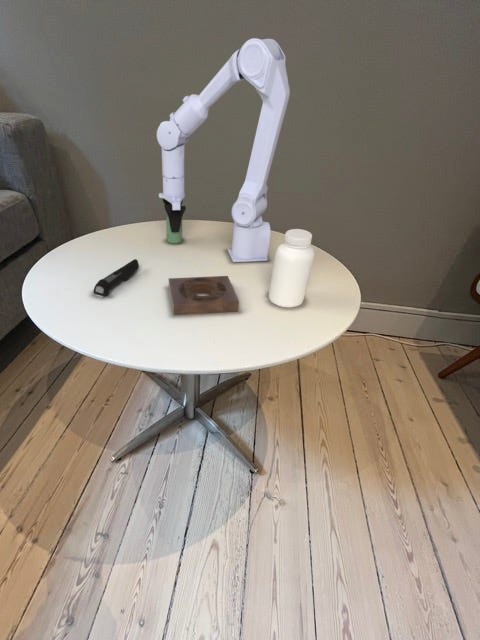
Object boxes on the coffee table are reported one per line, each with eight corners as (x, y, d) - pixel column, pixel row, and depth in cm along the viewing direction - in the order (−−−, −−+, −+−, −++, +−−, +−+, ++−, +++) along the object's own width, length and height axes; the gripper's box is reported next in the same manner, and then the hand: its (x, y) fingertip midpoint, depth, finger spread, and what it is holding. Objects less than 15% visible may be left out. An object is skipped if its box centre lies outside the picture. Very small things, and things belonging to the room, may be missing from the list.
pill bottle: (282, 311, 84) (296, 243, 74) (261, 295, 89) (271, 229, 79) (310, 303, 87) (327, 237, 76) (288, 288, 92) (301, 223, 82)
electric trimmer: (143, 272, 97) (142, 259, 95) (105, 298, 87) (104, 285, 85) (131, 268, 99) (129, 256, 97) (92, 294, 88) (90, 281, 86)
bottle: (181, 237, 114) (181, 201, 107) (182, 243, 110) (182, 206, 104) (166, 237, 113) (165, 201, 106) (167, 243, 110) (166, 207, 103)
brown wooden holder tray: (227, 285, 92) (227, 275, 91) (237, 311, 84) (239, 301, 82) (168, 288, 91) (168, 278, 89) (173, 315, 82) (173, 304, 80)
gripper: (156, 168, 105) (158, 220, 114) (159, 183, 95) (162, 238, 104) (182, 168, 106) (182, 219, 115) (188, 183, 95) (188, 237, 104)
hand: (174, 228), depth 110 cm, fingers closed on bottle, 4 cm apart
